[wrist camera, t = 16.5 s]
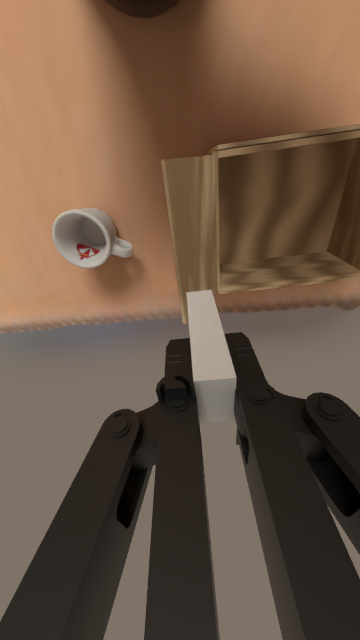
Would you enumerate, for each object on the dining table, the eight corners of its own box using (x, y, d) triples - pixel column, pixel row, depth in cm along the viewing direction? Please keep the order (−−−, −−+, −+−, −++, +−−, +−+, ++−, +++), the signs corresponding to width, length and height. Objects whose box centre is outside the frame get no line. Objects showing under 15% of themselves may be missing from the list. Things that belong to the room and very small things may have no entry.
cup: (143, 221, 36) (136, 233, 30) (131, 264, 40) (122, 282, 34) (77, 193, 34) (53, 199, 27) (71, 241, 38) (49, 257, 31)
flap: (215, 291, 32) (182, 323, 27) (211, 155, 23) (160, 160, 17) (217, 292, 32) (185, 324, 27) (214, 154, 23) (164, 159, 17)
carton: (208, 270, 41) (215, 295, 33) (202, 151, 31) (212, 145, 23) (326, 256, 40) (365, 279, 32) (362, 127, 30) (433, 113, 22)
